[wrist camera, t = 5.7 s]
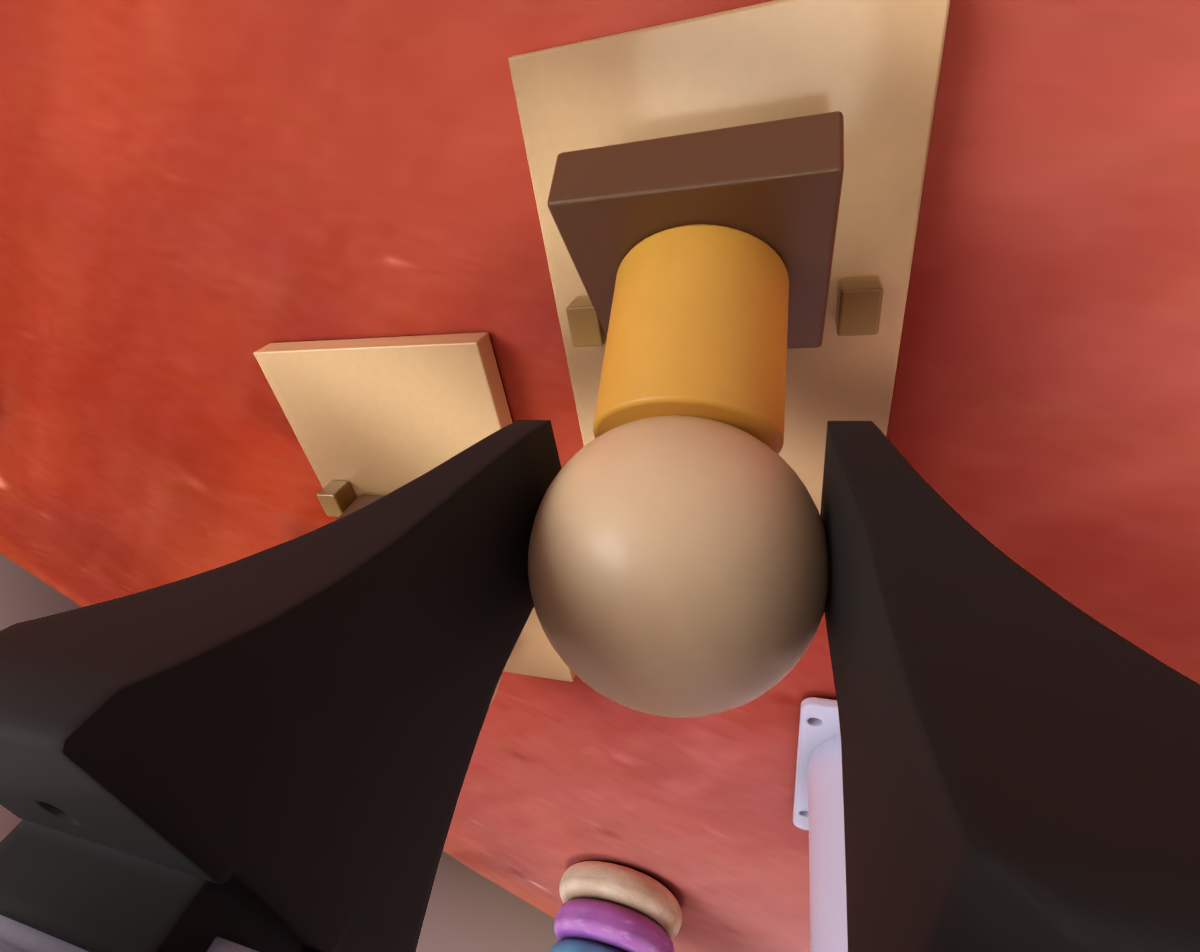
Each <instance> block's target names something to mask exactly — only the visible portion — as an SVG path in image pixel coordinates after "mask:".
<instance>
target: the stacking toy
mask: <svg viewBox="0 0 1200 952" xmlns="http://www.w3.org/2000/svg"><path fill="white" fill-rule="evenodd" d="M559 888H560V896H561V899H562V901H563V903H564V904H563V905H562V906H561V907H560V908H559V910H558V912H557V914H556V917H555V922H554V929H555V934H556V937H557V939H558V941H559V942H557V943H556V944H555V945H554V946H553V947H552V948H551V950H550V951H549V952H674V947H673V943H672V941H671V940H672V939H673V938H674V937H675V936H676V935H677V934H678V932H679V930H680V928H681V924H682V911H681V908H680V905H679V903H678V901H677V900H676V898H675V897H674V895H673V894H672V893H671V892H670V891H669V890H668V889H667V888H666V887H665V886H663V885H662V884H661V883H659V882H658V881H657V880H655V879H653V878H651V877H650V876H648V875H646V874H643V873H641V872H639V871H636V870H633V869H631V868H628V867H625V866H621V865H617V864H613V863H608V862H601V861H584V862H579V863H576V864H574V865H572V866H570V867H569V868H568V869H567V870H566V871H565V872H564V874H563V876H562V878H561V881H560V886H559Z"/></svg>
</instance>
